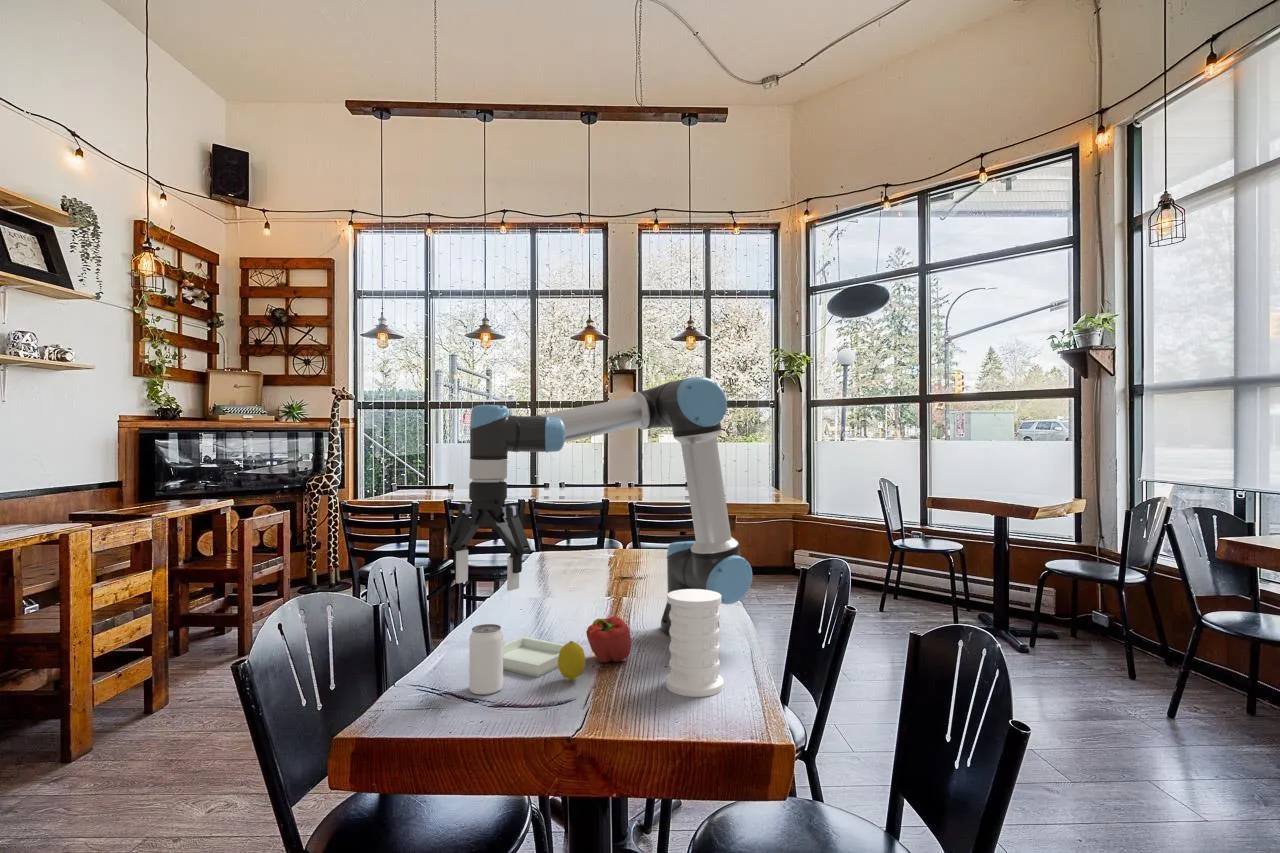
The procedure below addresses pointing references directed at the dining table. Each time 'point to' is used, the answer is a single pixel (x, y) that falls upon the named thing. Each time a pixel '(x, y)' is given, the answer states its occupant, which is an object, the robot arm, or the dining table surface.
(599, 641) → the vegetable
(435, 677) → the dining table surface
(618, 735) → the dining table surface
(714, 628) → the decorative container
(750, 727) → the dining table surface
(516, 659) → the dish
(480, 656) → the can
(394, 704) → the dining table surface
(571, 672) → the lemon
